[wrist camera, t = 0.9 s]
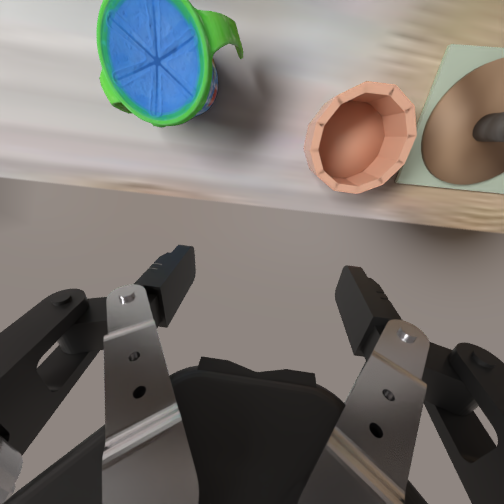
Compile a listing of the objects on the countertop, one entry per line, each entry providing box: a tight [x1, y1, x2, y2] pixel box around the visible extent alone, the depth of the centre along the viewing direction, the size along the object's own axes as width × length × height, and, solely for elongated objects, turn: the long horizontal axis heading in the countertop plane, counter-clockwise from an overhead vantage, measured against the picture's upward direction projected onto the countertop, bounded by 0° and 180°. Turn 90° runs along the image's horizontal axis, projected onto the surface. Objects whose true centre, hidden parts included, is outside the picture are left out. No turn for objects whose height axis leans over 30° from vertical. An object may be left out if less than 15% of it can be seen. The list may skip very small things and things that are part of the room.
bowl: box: [304, 81, 417, 194], centre depth 27 cm, size 11×11×6 cm
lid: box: [421, 58, 504, 185], centre depth 25 cm, size 14×14×4 cm
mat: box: [395, 44, 504, 194], centre depth 27 cm, size 15×15×1 cm
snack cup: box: [97, 0, 243, 127], centre depth 24 cm, size 16×10×10 cm
